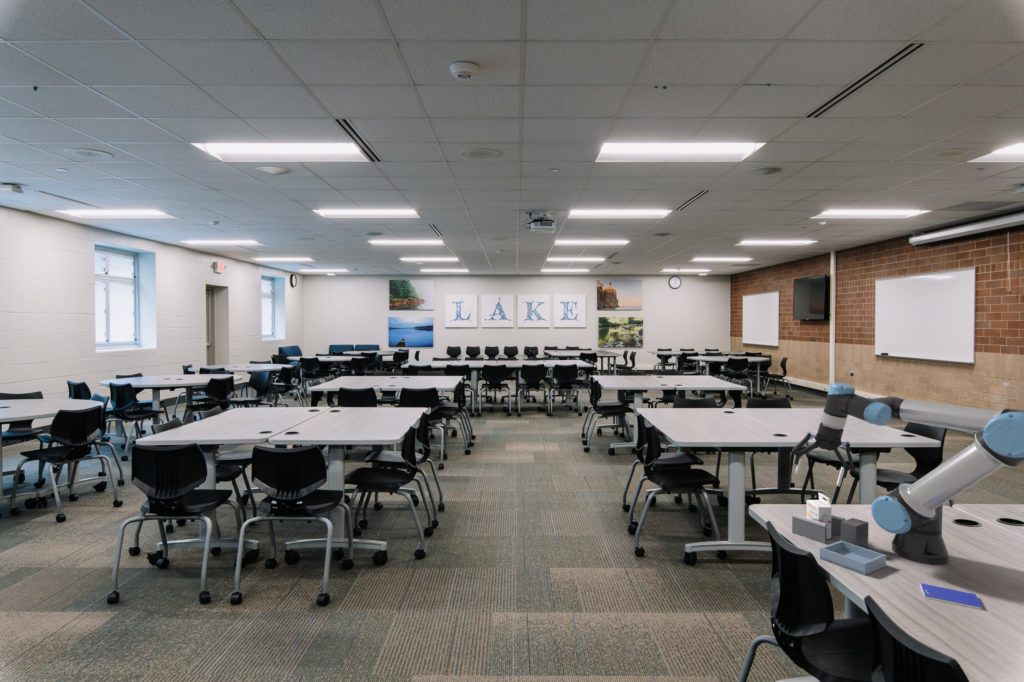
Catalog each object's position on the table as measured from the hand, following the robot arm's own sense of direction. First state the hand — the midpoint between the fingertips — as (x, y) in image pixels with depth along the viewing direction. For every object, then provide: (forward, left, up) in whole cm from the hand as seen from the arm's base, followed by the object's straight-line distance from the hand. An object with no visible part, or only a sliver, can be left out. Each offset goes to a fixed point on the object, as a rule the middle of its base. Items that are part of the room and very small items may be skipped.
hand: (817, 478), depth 195 cm
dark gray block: (-13, 0, -21) cm, 25 cm away
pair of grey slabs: (0, -1, -21) cm, 21 cm away
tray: (-19, +13, -21) cm, 31 cm away
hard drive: (-45, +14, -21) cm, 52 cm away
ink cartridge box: (0, -1, -21) cm, 21 cm away
